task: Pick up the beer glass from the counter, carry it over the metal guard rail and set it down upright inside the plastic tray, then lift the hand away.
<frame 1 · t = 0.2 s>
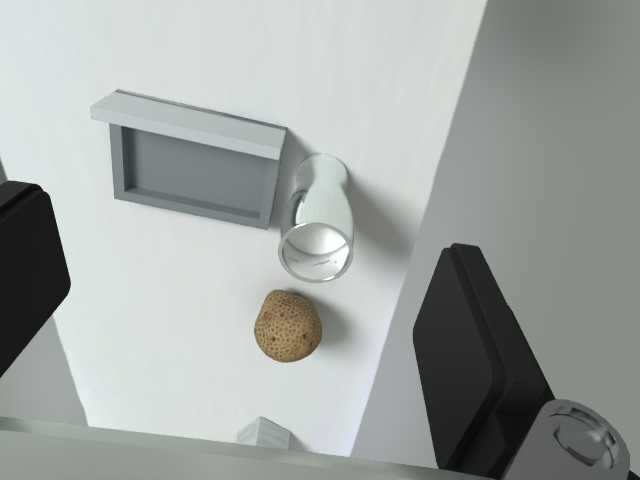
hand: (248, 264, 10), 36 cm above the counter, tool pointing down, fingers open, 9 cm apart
beer glass: (321, 177, 49), on the counter
guarded tray: (200, 159, 48), on the counter
natural sponge: (291, 300, 60), on the counter
supplement box: (264, 430, 80), on the counter
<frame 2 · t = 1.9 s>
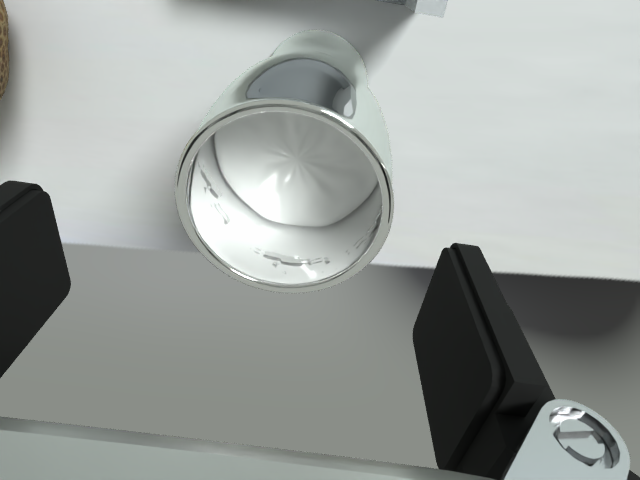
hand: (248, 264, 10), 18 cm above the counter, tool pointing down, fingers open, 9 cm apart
beer glass: (316, 85, 25), on the counter
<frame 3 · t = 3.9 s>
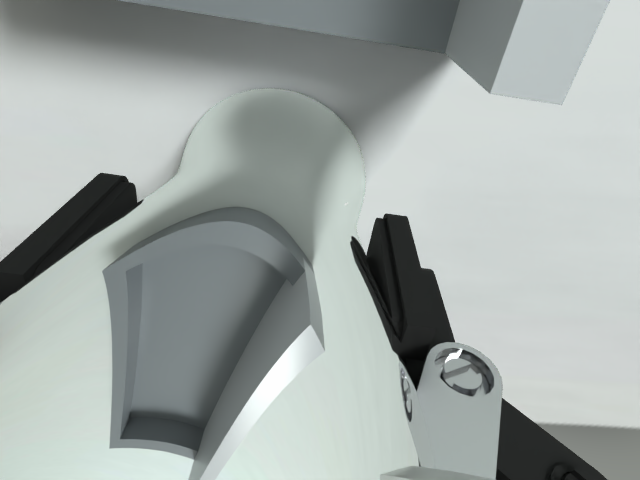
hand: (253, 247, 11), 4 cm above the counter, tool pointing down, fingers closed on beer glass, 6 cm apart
beer glass: (276, 176, 15), on the counter, touching gripper
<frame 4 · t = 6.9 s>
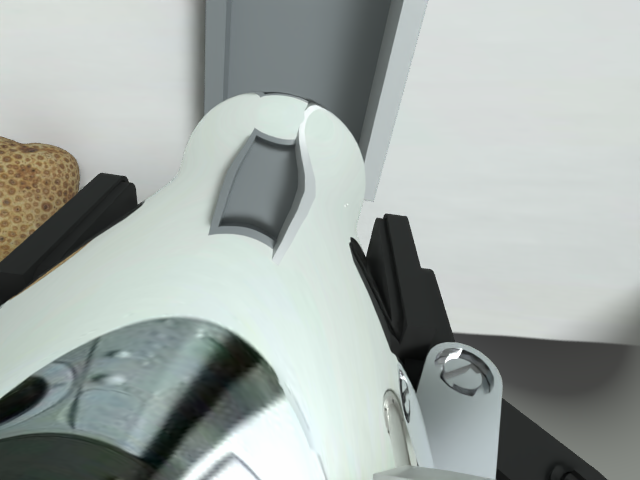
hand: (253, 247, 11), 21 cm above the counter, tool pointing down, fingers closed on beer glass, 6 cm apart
beer glass: (276, 177, 15), point 17 cm above the counter, touching gripper
guarded tray: (308, 21, 27), on the counter
natural sponge: (50, 168, 34), on the counter
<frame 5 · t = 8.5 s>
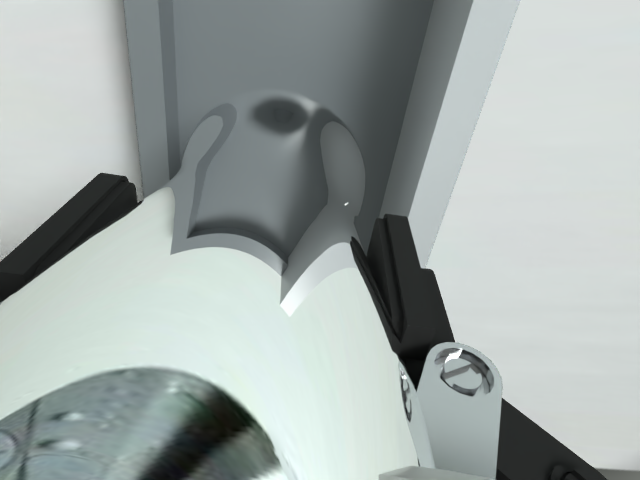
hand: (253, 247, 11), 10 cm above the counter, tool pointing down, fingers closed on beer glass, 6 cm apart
beer glass: (276, 176, 15), point 6 cm above the counter, touching gripper
guarded tray: (290, 123, 19), on the counter
when the fingers open (6 cm above the counter, at t = 9.7 s): beer glass drops 1 cm, resting on guarded tray.
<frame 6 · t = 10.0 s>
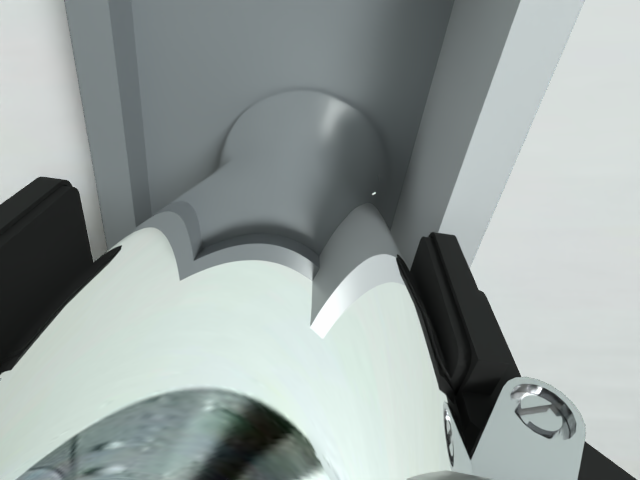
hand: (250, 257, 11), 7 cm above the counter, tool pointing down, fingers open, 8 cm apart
beer glass: (305, 171, 16), point 1 cm above the counter, touching gripper, guarded tray
guarded tray: (279, 151, 16), on the counter
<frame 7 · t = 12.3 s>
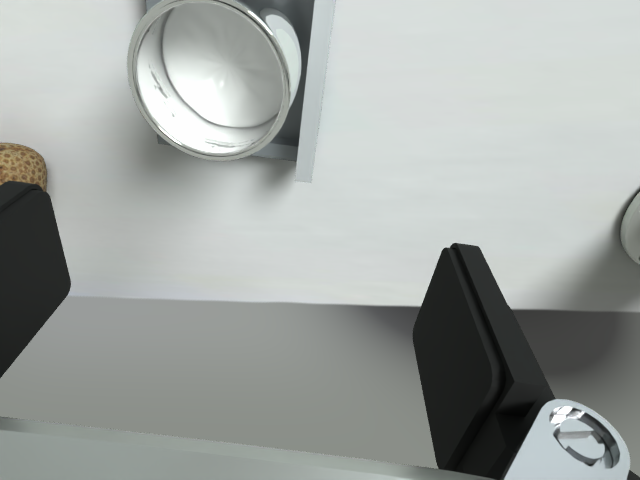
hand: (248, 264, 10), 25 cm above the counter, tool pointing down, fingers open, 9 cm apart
beer glass: (258, 29, 29), point 1 cm above the counter, touching guarded tray
guarded tray: (245, 21, 30), on the counter
natural sponge: (21, 166, 37), on the counter
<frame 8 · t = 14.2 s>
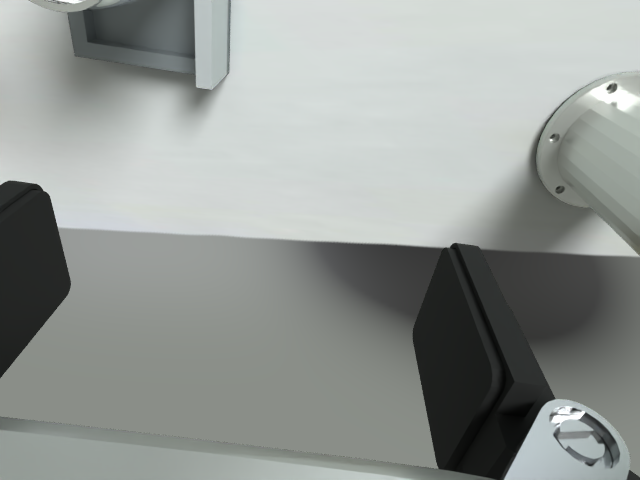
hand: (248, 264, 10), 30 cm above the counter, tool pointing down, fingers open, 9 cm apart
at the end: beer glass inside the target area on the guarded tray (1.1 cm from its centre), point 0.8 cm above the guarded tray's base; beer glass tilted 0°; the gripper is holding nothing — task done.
